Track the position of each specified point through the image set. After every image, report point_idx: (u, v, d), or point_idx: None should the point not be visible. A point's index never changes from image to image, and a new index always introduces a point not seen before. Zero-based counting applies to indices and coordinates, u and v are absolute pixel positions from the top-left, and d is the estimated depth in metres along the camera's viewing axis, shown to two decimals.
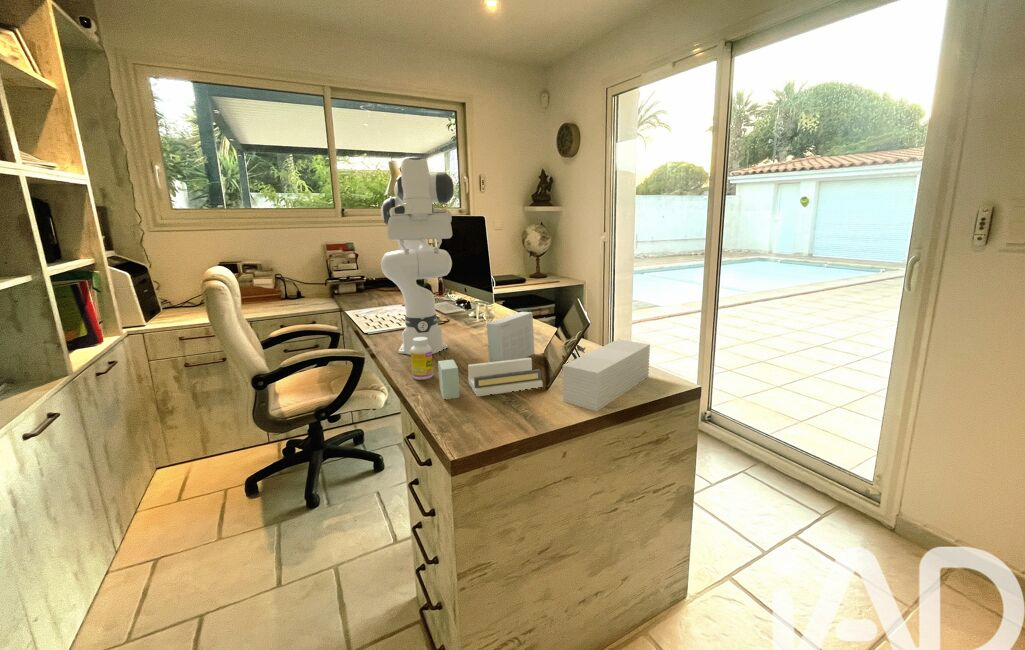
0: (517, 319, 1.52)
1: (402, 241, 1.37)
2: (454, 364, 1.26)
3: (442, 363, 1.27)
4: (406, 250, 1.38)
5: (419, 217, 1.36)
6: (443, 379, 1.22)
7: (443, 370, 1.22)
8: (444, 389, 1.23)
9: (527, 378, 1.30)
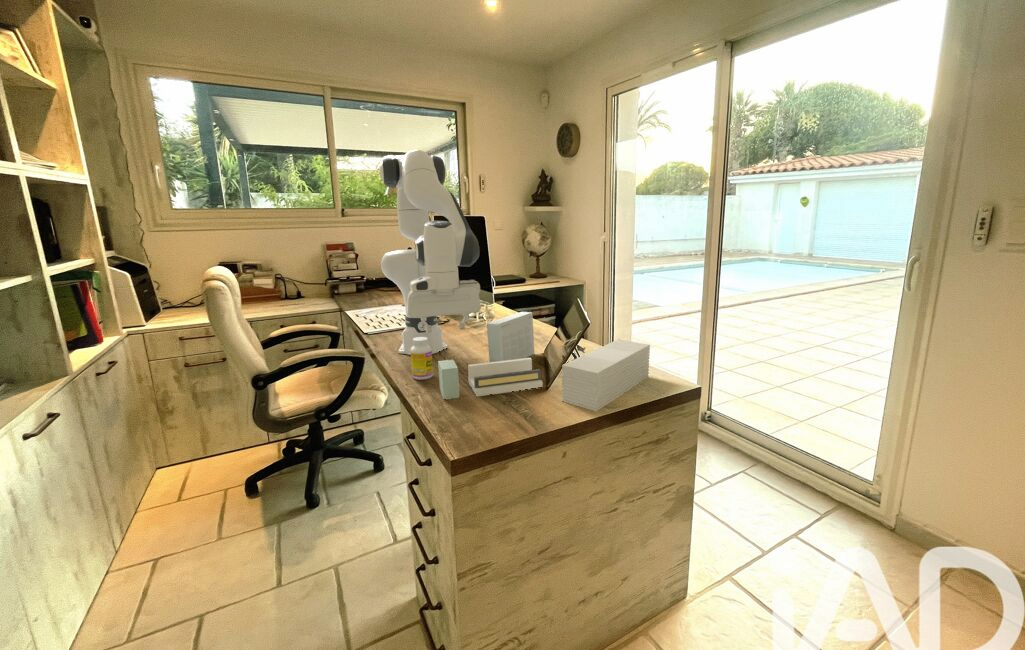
0: (517, 319, 1.52)
1: (424, 318, 1.20)
2: (454, 364, 1.26)
3: (442, 363, 1.27)
4: (428, 328, 1.21)
5: (444, 293, 1.18)
6: (443, 379, 1.22)
7: (443, 370, 1.22)
8: (444, 389, 1.23)
9: (527, 378, 1.30)
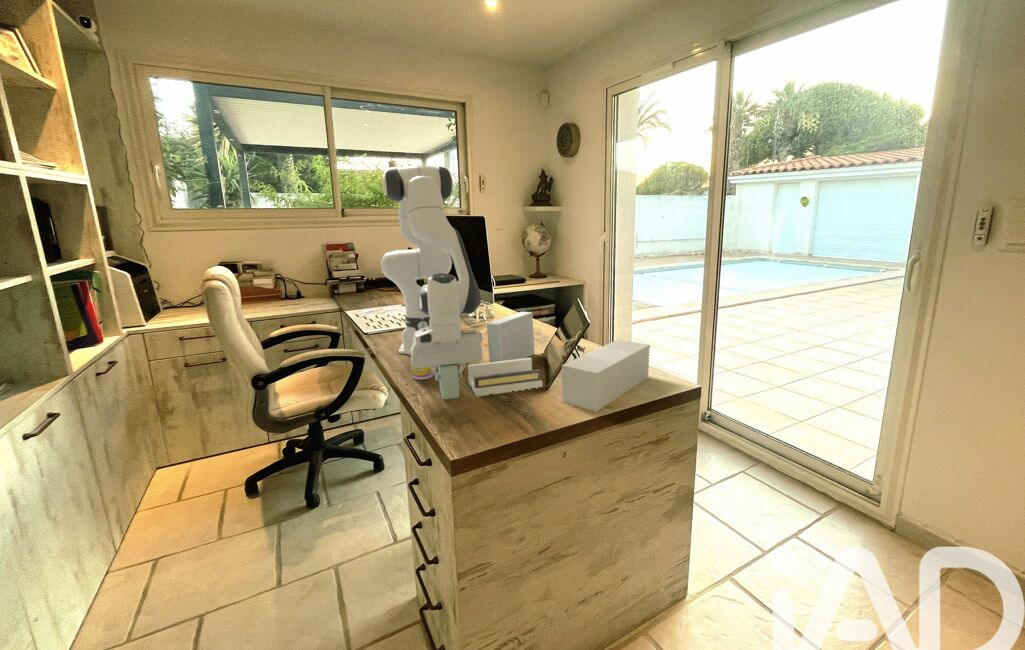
0: (517, 319, 1.52)
1: (434, 367, 1.24)
2: (454, 364, 1.26)
3: None
4: (438, 376, 1.25)
5: (447, 344, 1.22)
6: (443, 379, 1.22)
7: (443, 370, 1.22)
8: (444, 389, 1.23)
9: (527, 378, 1.30)
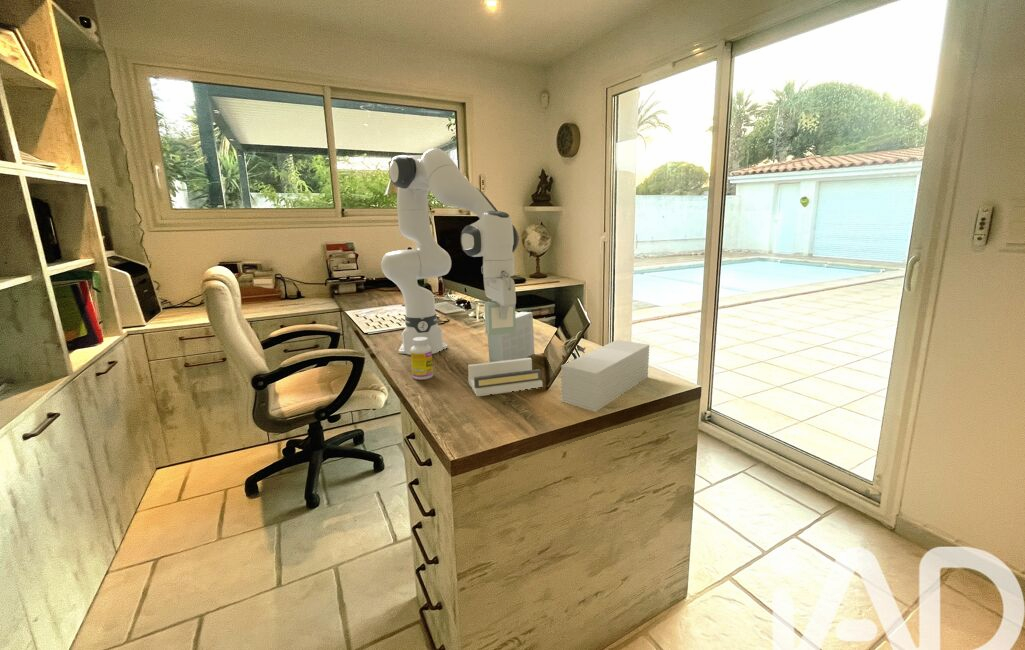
0: (517, 319, 1.52)
1: None
2: None
3: None
4: None
5: (488, 279, 1.25)
6: (485, 312, 1.29)
7: (484, 303, 1.28)
8: (485, 322, 1.29)
9: (527, 378, 1.30)
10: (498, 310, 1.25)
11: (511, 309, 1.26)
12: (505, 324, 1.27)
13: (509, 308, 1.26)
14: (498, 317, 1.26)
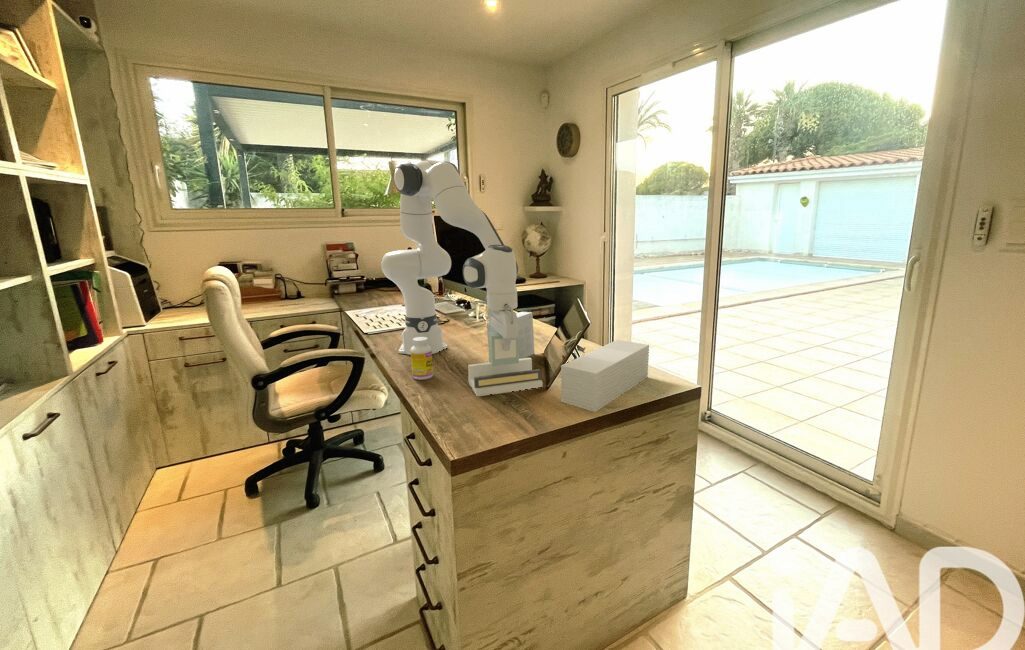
0: (517, 319, 1.52)
1: (496, 331, 1.33)
2: None
3: None
4: None
5: (491, 311, 1.27)
6: (488, 342, 1.31)
7: (488, 334, 1.30)
8: (489, 352, 1.32)
9: (527, 378, 1.30)
10: (501, 341, 1.28)
11: (514, 340, 1.29)
12: (508, 355, 1.29)
13: None
14: (501, 348, 1.28)
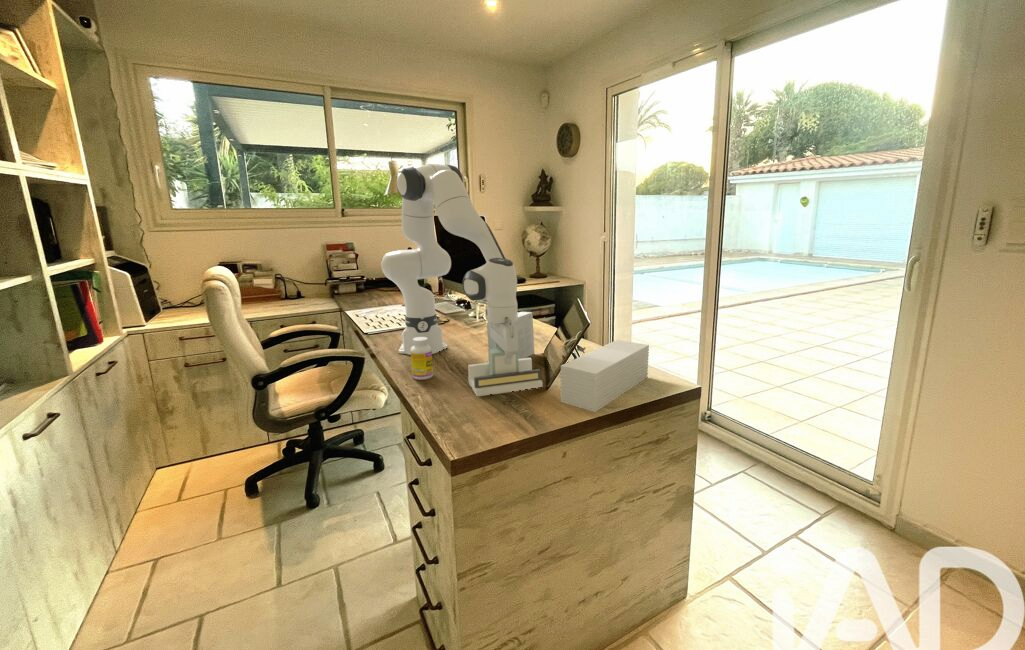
0: None
1: (495, 341, 1.36)
2: (501, 352, 1.29)
3: None
4: None
5: (492, 324, 1.28)
6: None
7: (488, 350, 1.32)
8: (489, 368, 1.33)
9: (527, 378, 1.30)
10: (501, 358, 1.29)
11: (514, 357, 1.30)
12: (508, 372, 1.31)
13: (512, 356, 1.30)
14: (501, 365, 1.30)
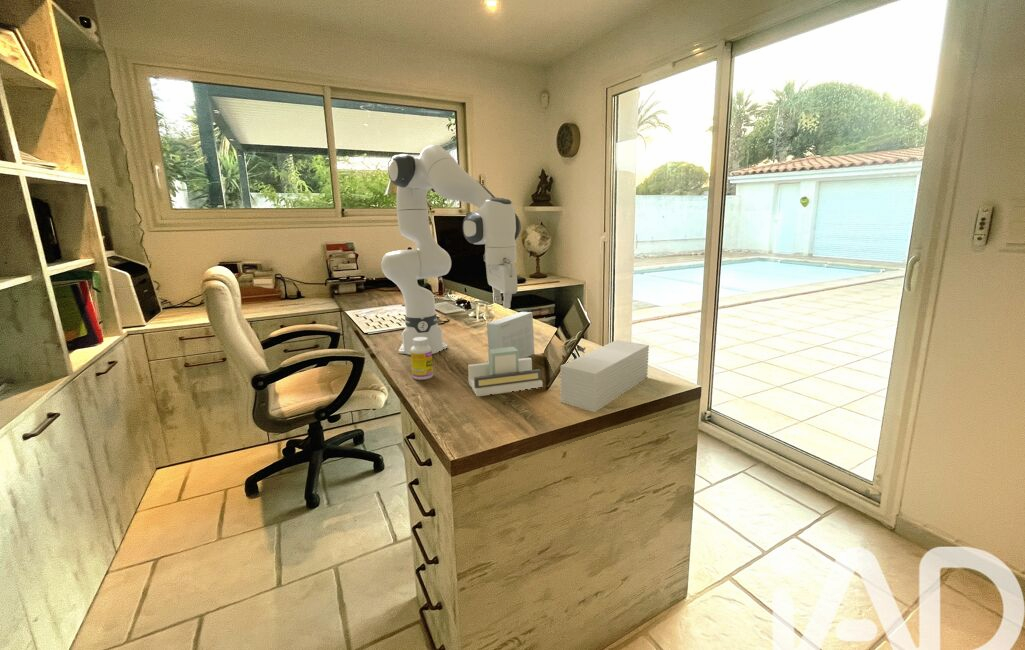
0: (517, 319, 1.52)
1: (493, 288, 1.32)
2: (501, 352, 1.29)
3: (505, 348, 1.33)
4: (495, 298, 1.32)
5: (490, 267, 1.25)
6: None
7: (488, 350, 1.32)
8: (489, 368, 1.33)
9: (527, 378, 1.30)
10: (501, 358, 1.29)
11: (514, 357, 1.30)
12: (508, 372, 1.31)
13: (512, 356, 1.30)
14: (501, 365, 1.30)
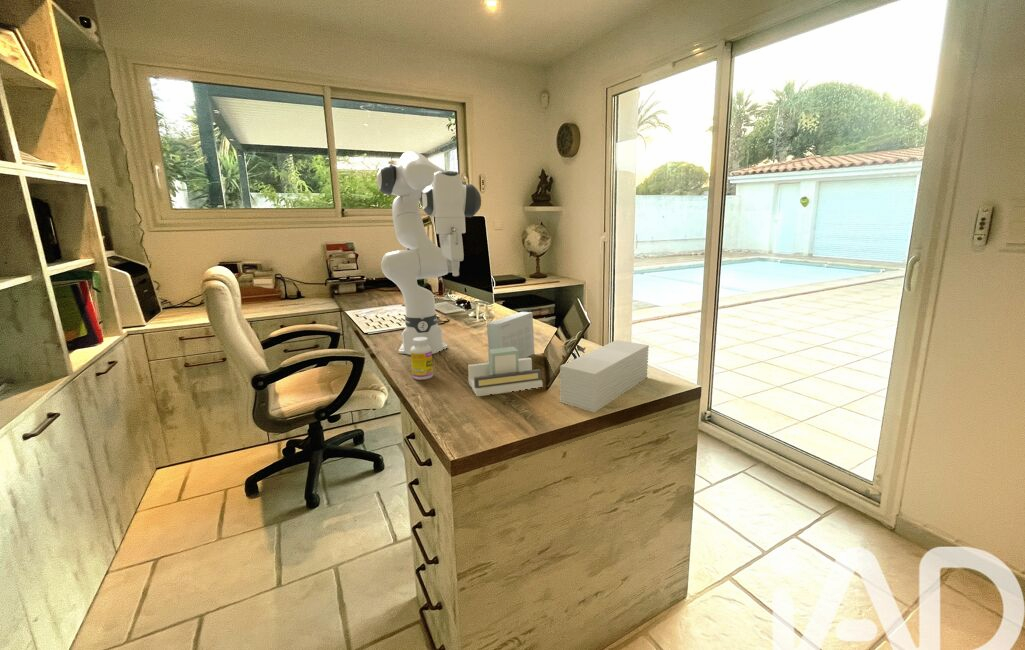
0: (517, 319, 1.52)
1: (446, 259, 1.38)
2: (501, 352, 1.29)
3: (505, 348, 1.33)
4: (447, 268, 1.38)
5: (440, 237, 1.31)
6: None
7: (488, 350, 1.32)
8: (489, 368, 1.33)
9: (527, 378, 1.30)
10: (501, 358, 1.29)
11: (514, 357, 1.30)
12: (508, 372, 1.31)
13: (512, 356, 1.30)
14: (501, 365, 1.30)
